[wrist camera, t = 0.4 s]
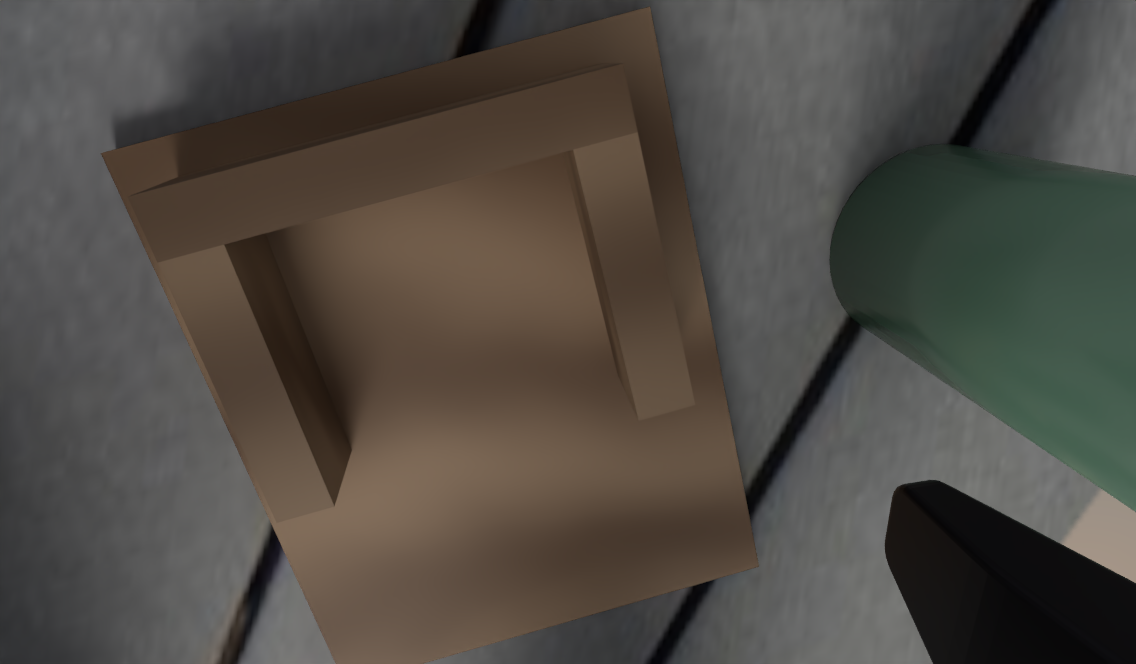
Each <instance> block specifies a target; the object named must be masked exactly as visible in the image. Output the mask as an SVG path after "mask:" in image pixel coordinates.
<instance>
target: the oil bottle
mask: <svg viewBox="0 0 1136 664" xmlns="http://www.w3.org/2000/svg"><path fill="white" fill-rule="evenodd" d="M830 273H831V278H832V283H833V287H834V289H835V292H836V295H837V297H838V299H839V301H840V303H841V305H842V306H843V308H844V309H845V310H846V312H847V313H848V314H849V315H850V316H851V317H852V318H853V319H854V320H855V321H856V322H857V323H858V324H859V325H861V326H862V327H864V328H865V329H866V330H868V331H869V332H871V333H872V334H874V335H875V336H877V337H878V338H880V339H881V340H883V341H884V342H886V343H887V344H889V345H890V346H892V347H893V348H894V349H896V350H897V351H899V352H900V353H902V354H903V355H905V356H906V357H908V358H909V359H911V360H912V361H914V362H915V363H917V364H918V365H920V366H921V367H923V368H924V369H925V370H927V371H928V372H930V373H931V374H933V375H934V376H936V377H937V378H939V379H940V380H942V381H943V382H945V383H946V384H948V385H949V386H951V387H952V388H953V389H955V390H956V391H958V392H959V393H961V394H962V395H964V396H965V397H967V398H968V399H970V400H971V401H973V402H974V403H976V404H977V405H979V406H980V407H982V408H983V409H984V410H986V411H987V412H989V413H990V414H992V415H993V416H995V417H996V418H998V419H999V420H1001V421H1002V422H1004V423H1005V424H1007V425H1008V426H1010V427H1011V428H1013V429H1014V430H1015V431H1017V432H1018V433H1020V434H1021V435H1023V436H1024V437H1026V438H1027V439H1029V440H1030V441H1032V442H1033V443H1035V444H1036V445H1038V446H1039V447H1041V448H1042V449H1043V450H1045V451H1046V452H1048V453H1049V454H1051V455H1052V456H1054V457H1055V458H1057V459H1058V460H1060V461H1061V462H1063V463H1064V464H1066V465H1067V466H1069V467H1070V468H1072V469H1073V470H1074V471H1076V472H1077V473H1079V474H1080V475H1082V476H1083V477H1085V478H1086V479H1088V480H1089V481H1091V482H1092V483H1094V484H1095V485H1097V486H1098V487H1100V488H1101V489H1103V490H1104V491H1105V492H1107V493H1108V494H1110V495H1111V496H1113V497H1114V498H1116V499H1118V500H1119V501H1120V502H1122V503H1123V504H1125V505H1126V506H1128V507H1129V508H1131V509H1132V510H1134V511H1135V512H1136V176H1134V175H1128V174H1122V173H1116V172H1110V171H1104V170H1099V169H1093V168H1087V167H1081V166H1075V165H1069V164H1064V163H1058V162H1052V161H1046V160H1040V159H1034V158H1029V157H1023V156H1017V155H1011V154H1005V153H999V152H994V151H988V150H982V149H976V148H970V147H964V146H959V145H949V144H936V145H927V146H923V147H918V148H915V149H912V150H909V151H906V152H903V153H901V154H899V155H897V156H895V157H893V158H891V159H890V160H888V161H887V162H885V163H884V164H882V165H881V166H879V167H878V168H877V169H876V170H874V171H873V172H872V173H871V174H870V175H868V177H867V178H866V179H865V180H864V181H863V182H862V183H861V184H860V185H859V186H858V187H857V189H856V190H855V191H854V192H853V194H852V195H851V196H850V198H849V200H848V201H847V203H846V205H845V206H844V208H843V210H842V212H841V214H840V216H839V219H838V221H837V224H836V227H835V230H834V233H833V237H832V242H831V247H830Z"/></svg>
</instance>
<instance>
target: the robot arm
mask: <svg viewBox="0 0 1136 664" xmlns="http://www.w3.org/2000/svg"><path fill="white" fill-rule="evenodd" d="M885 553H886V559H887V562H888V565H889V567H890V570H891V572H892V574H893V576H894V579H895V581H896V583H897V585H898V588H899V590H900V592H901V594H902V596H903V599H904V601H905V603H906V605H907V607H908V610H909V612H910V614H911V616H912V618H913V621H914V623H915V625H916V627H917V629H918V632H919V634H920V636H921V638H922V640H923V643H924V645H925V647H926V649H927V651H928V654H929V656H930V658H931V660H932V662H933V664H1136V583H1134V582H1132V581H1130V580H1129V579H1127V578H1125V577H1123V576H1121V575H1119V574H1117V573H1115V572H1113V571H1111V570H1110V569H1108V568H1106V567H1104V566H1102V565H1100V564H1098V563H1096V562H1094V561H1092V560H1090V559H1088V558H1087V557H1085V556H1083V555H1081V554H1078V553H1077V552H1075V551H1073V550H1071V549H1069V548H1067V547H1066V546H1064V545H1062V544H1060V543H1058V542H1056V541H1054V540H1052V539H1050V538H1048V537H1046V536H1045V535H1043V534H1041V533H1039V532H1037V531H1035V530H1033V529H1031V528H1029V527H1027V526H1025V525H1024V524H1022V523H1020V522H1018V521H1016V520H1014V519H1012V518H1010V517H1008V516H1006V515H1004V514H1003V513H1001V512H999V511H997V510H995V509H993V508H991V507H989V506H987V505H985V504H983V503H982V502H980V501H978V500H976V499H974V498H972V497H970V496H968V495H966V494H964V493H962V492H960V491H959V490H957V489H955V488H953V487H951V486H949V485H947V484H945V483H943V482H940V481H937V480H927V481H921V482H914V483H908V484H903V485H900V486H898V487H897V488H896V490H895V491H894V493H893V497H892V502H891V508H890V514H889V520H888V526H887V532H886V538H885Z"/></svg>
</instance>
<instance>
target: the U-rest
mask: <svg viewBox="0 0 1136 664" xmlns="http://www.w3.org/2000/svg"><path fill="white" fill-rule="evenodd" d="M101 155H102V157H103V159H104V161H105V163H106V165H107V168H108V170H109V172H110V174H111V176H112V178H113V181H114V183H115V185H116V187H117V189H118V192H119V194H120V196H121V198H122V200H123V202H124V205H125V207H126V209H127V211H128V213H129V215H130V218H131V220H132V222H133V224H134V226H135V228H136V231H137V233H138V235H139V237H140V239H141V241H142V244H143V246H144V248H145V250H146V252H147V255H148V257H149V259H150V261H151V263H152V265H153V268H154V270H155V272H156V274H157V276H158V278H159V281H160V283H161V285H162V287H163V289H164V291H165V294H166V296H167V298H168V300H169V302H170V304H171V307H172V309H173V311H174V313H175V315H176V317H177V320H178V322H179V324H180V326H181V328H182V331H183V333H184V335H185V337H186V339H187V341H188V344H189V346H190V348H191V350H192V352H193V354H194V357H195V359H196V361H197V363H198V365H199V367H200V370H201V372H202V374H203V376H204V378H205V380H206V383H207V385H208V387H209V389H210V391H211V394H212V396H213V398H214V400H215V402H216V404H217V407H218V409H219V411H220V413H221V415H222V417H223V420H224V422H225V424H226V426H227V428H228V430H229V433H230V435H231V437H232V439H233V441H234V443H235V446H236V448H237V450H238V452H239V454H240V456H241V459H242V461H243V463H244V465H245V467H246V470H247V472H248V474H249V476H250V478H251V480H252V483H253V485H254V487H255V489H256V491H257V493H258V496H259V498H260V500H261V502H262V504H263V506H264V509H265V511H266V513H267V515H268V517H269V519H270V522H271V524H272V526H273V528H274V530H275V533H276V535H277V537H278V539H279V541H280V543H281V546H282V548H283V550H284V552H285V554H286V556H287V559H288V561H289V563H290V565H291V567H292V569H293V572H294V574H295V576H296V578H297V580H298V582H299V585H300V587H301V589H302V591H303V593H304V595H305V598H306V600H307V602H308V604H309V606H310V609H311V611H312V613H313V615H314V617H315V619H316V622H317V624H318V626H319V628H320V630H321V632H322V635H323V637H324V639H325V641H326V643H327V645H328V648H329V650H330V652H331V654H332V656H333V658H334V661H335V663H336V664H423V663H427V662H430V661H434V660H437V659H440V658H444V657H447V656H451V655H454V654H458V653H461V652H465V651H468V650H472V649H475V648H479V647H482V646H486V645H489V644H492V643H496V642H499V641H503V640H506V639H510V638H513V637H517V636H520V635H524V634H527V633H531V632H534V631H538V630H541V629H544V628H548V627H551V626H555V625H558V624H562V623H565V622H569V621H572V620H576V619H579V618H583V617H586V616H590V615H593V614H596V613H600V612H603V611H607V610H610V609H614V608H617V607H621V606H624V605H628V604H631V603H635V602H638V601H642V600H645V599H648V598H652V597H655V596H659V595H662V594H666V593H669V592H673V591H676V590H680V589H683V588H687V587H690V586H694V585H697V584H700V583H704V582H707V581H711V580H714V579H718V578H721V577H725V576H728V575H732V574H735V573H739V572H742V571H746V570H749V569H752V568H756V567H759V564H758V558H757V553H756V548H755V543H754V538H753V533H752V528H751V523H750V517H749V512H748V507H747V502H746V497H745V492H744V487H743V481H742V476H741V471H740V466H739V461H738V456H737V451H736V446H735V440H734V435H733V430H732V425H731V420H730V415H729V410H728V404H727V399H726V394H725V389H724V384H723V379H722V374H721V369H720V363H719V358H718V353H717V348H716V343H715V338H714V333H713V327H712V322H711V317H710V312H709V307H708V302H707V297H706V292H705V286H704V281H703V276H702V271H701V266H700V261H699V256H698V250H697V245H696V240H695V235H694V230H693V225H692V220H691V215H690V209H689V204H688V199H687V194H686V189H685V184H684V179H683V173H682V168H681V163H680V158H679V153H678V148H677V143H676V138H675V132H674V127H673V122H672V117H671V112H670V107H669V102H668V96H667V91H666V86H665V81H664V76H663V71H662V66H661V60H660V55H659V50H658V45H657V40H656V35H655V30H654V25H653V19H652V14H651V9H650V7H646V8H642V9H639V10H635V11H631V12H627V13H624V14H620V15H616V16H612V17H609V18H605V19H601V20H597V21H594V22H590V23H586V24H582V25H579V26H575V27H571V28H568V29H564V30H560V31H556V32H553V33H549V34H545V35H541V36H538V37H534V38H530V39H526V40H523V41H519V42H515V43H511V44H508V45H504V46H500V47H496V48H493V49H489V50H485V51H482V52H478V53H474V54H470V55H467V56H463V57H459V58H455V59H452V60H448V61H444V62H440V63H437V64H433V65H429V66H425V67H422V68H418V69H414V70H410V71H407V72H403V73H399V74H395V75H392V76H388V77H384V78H381V79H377V80H373V81H369V82H366V83H362V84H358V85H354V86H351V87H347V88H343V89H339V90H336V91H332V92H328V93H324V94H321V95H317V96H313V97H309V98H306V99H302V100H298V101H294V102H291V103H287V104H283V105H280V106H276V107H272V108H268V109H265V110H261V111H257V112H253V113H250V114H246V115H242V116H238V117H235V118H231V119H227V120H223V121H220V122H216V123H212V124H208V125H205V126H201V127H197V128H193V129H190V130H186V131H182V132H179V133H175V134H171V135H167V136H164V137H160V138H156V139H152V140H149V141H145V142H141V143H137V144H134V145H130V146H126V147H122V148H119V149H115V150H111V151H107V152H104V153H101Z"/></svg>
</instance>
